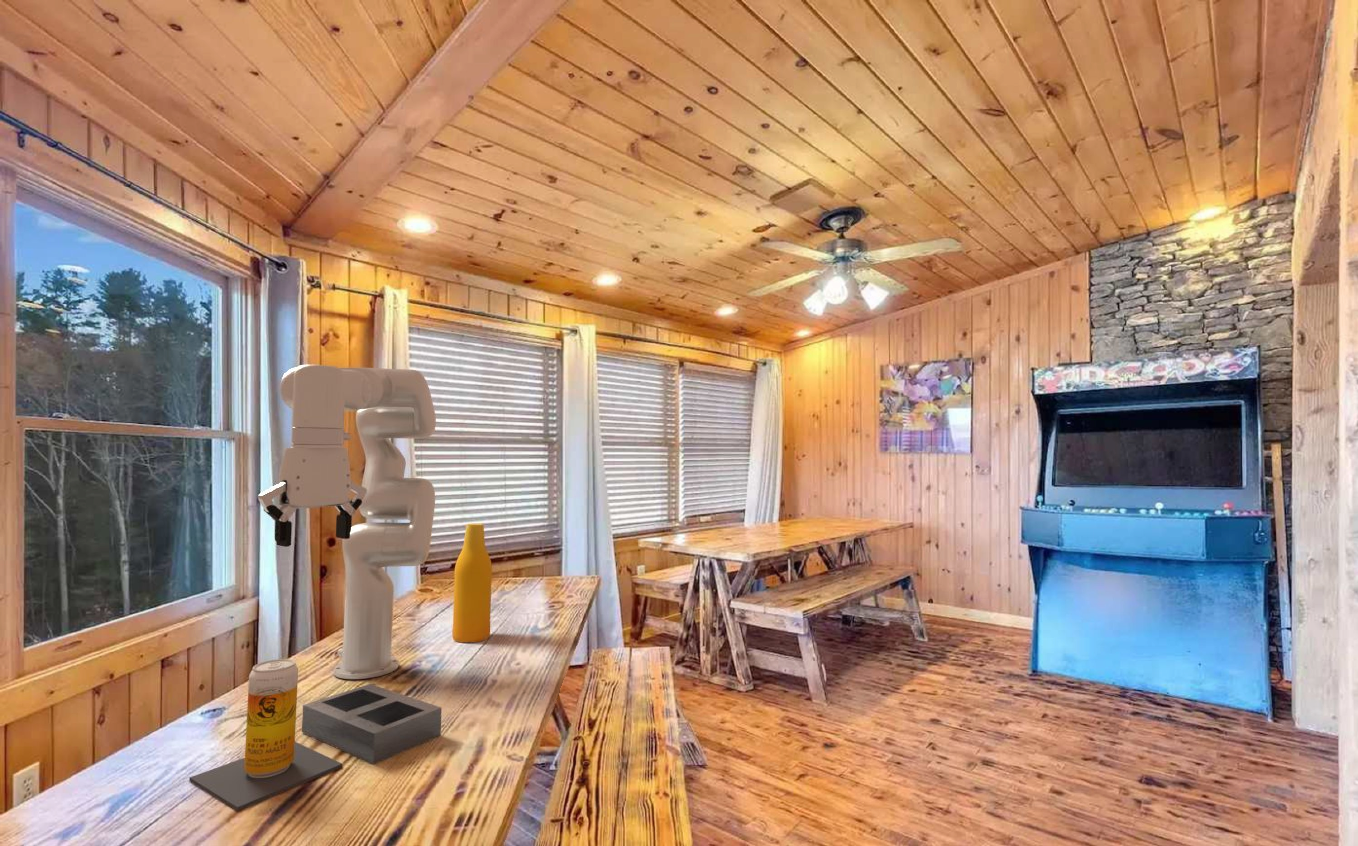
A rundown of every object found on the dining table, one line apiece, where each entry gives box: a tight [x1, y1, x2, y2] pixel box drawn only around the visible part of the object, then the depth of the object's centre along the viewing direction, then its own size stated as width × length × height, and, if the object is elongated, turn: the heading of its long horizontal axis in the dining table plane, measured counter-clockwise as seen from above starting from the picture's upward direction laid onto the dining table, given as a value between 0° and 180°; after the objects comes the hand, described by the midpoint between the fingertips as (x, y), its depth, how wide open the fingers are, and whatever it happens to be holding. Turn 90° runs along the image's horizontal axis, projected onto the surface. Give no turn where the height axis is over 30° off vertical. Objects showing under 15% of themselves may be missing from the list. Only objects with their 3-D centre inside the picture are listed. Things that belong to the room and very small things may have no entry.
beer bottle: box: [451, 522, 493, 643], centre depth 162 cm, size 9×9×29 cm
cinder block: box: [301, 683, 443, 765], centre depth 105 cm, size 20×12×4 cm, turn 58°
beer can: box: [244, 658, 299, 778], centre depth 92 cm, size 6×6×15 cm
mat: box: [188, 741, 344, 812], centre depth 91 cm, size 14×14×1 cm
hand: (314, 541), depth 105 cm, fingers open, 9 cm apart
